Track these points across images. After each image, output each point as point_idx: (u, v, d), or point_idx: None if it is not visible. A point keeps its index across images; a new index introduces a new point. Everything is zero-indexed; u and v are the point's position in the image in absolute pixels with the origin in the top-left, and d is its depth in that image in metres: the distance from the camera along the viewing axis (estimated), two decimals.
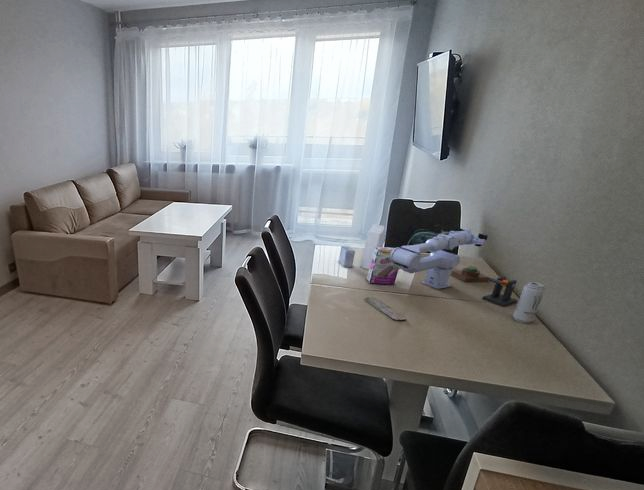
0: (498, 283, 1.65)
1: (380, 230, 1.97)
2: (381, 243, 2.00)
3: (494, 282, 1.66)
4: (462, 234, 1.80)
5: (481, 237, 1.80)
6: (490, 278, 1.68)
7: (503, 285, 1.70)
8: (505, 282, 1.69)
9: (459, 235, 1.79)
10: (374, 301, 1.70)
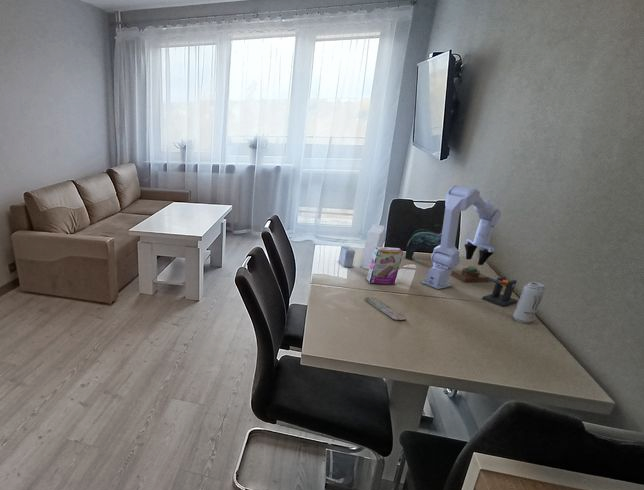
0: (498, 283, 1.65)
1: (380, 230, 1.97)
2: (381, 243, 2.00)
3: (494, 282, 1.66)
4: None
5: None
6: (490, 278, 1.68)
7: (503, 285, 1.70)
8: (505, 282, 1.69)
9: None
10: (374, 301, 1.70)
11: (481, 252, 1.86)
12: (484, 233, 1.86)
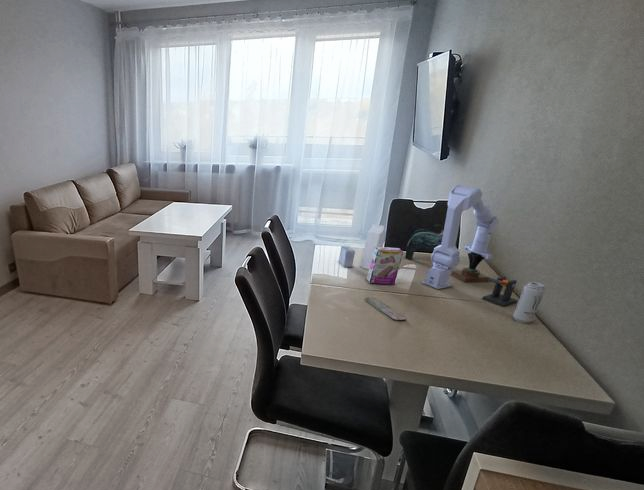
0: (498, 283, 1.65)
1: (380, 230, 1.97)
2: (381, 243, 2.00)
3: (494, 282, 1.66)
4: None
5: None
6: (490, 278, 1.68)
7: (503, 285, 1.70)
8: (505, 282, 1.69)
9: None
10: (374, 301, 1.70)
11: (473, 256, 1.91)
12: (482, 240, 1.87)
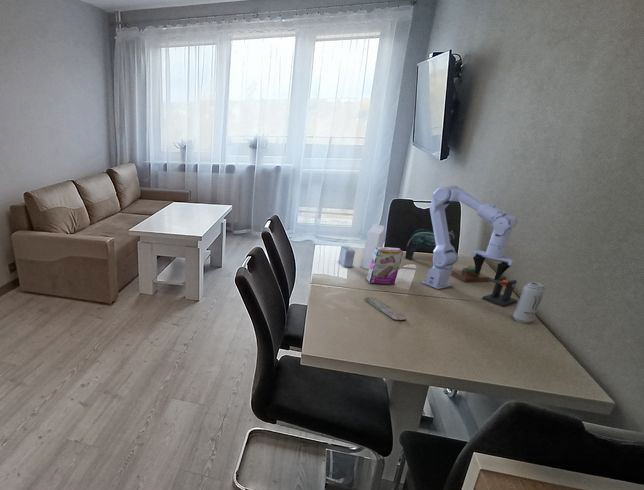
0: (498, 283, 1.65)
1: (380, 230, 1.97)
2: (381, 243, 2.00)
3: (494, 282, 1.66)
4: (503, 245, 1.63)
5: None
6: (490, 278, 1.68)
7: (503, 285, 1.70)
8: (505, 282, 1.69)
9: (505, 239, 1.62)
10: (374, 301, 1.70)
11: (500, 266, 1.63)
12: None
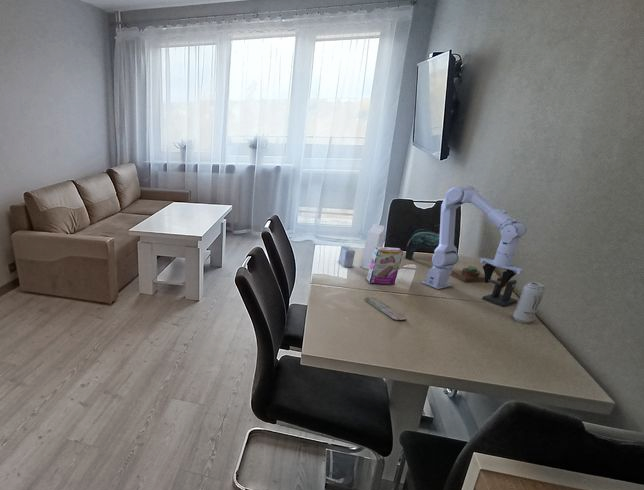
0: (497, 284, 1.65)
1: (380, 230, 1.97)
2: (381, 243, 2.00)
3: (494, 283, 1.66)
4: (511, 254, 1.59)
5: None
6: (489, 279, 1.68)
7: None
8: None
9: (512, 248, 1.58)
10: (374, 301, 1.70)
11: (506, 274, 1.60)
12: None
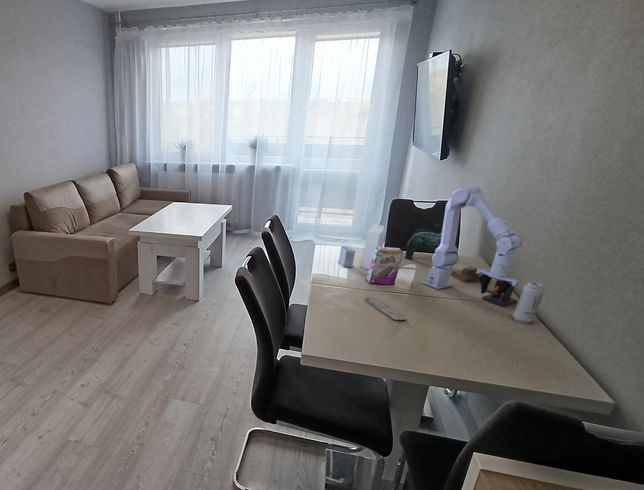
0: None
1: (380, 230, 1.97)
2: (381, 243, 2.00)
3: (490, 293, 1.68)
4: (506, 265, 1.61)
5: None
6: (486, 289, 1.70)
7: None
8: None
9: (508, 259, 1.60)
10: (374, 301, 1.70)
11: (502, 285, 1.62)
12: None
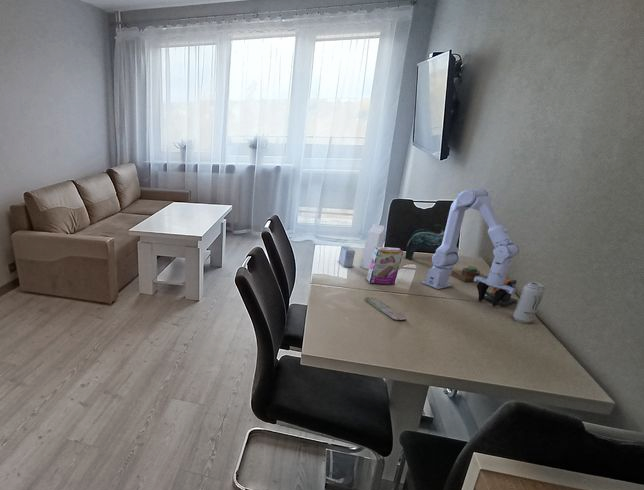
0: (494, 297, 1.68)
1: (380, 230, 1.97)
2: (381, 243, 2.00)
3: None
4: (503, 273, 1.62)
5: None
6: (485, 292, 1.70)
7: None
8: None
9: (505, 268, 1.61)
10: (374, 301, 1.70)
11: (498, 293, 1.63)
12: None
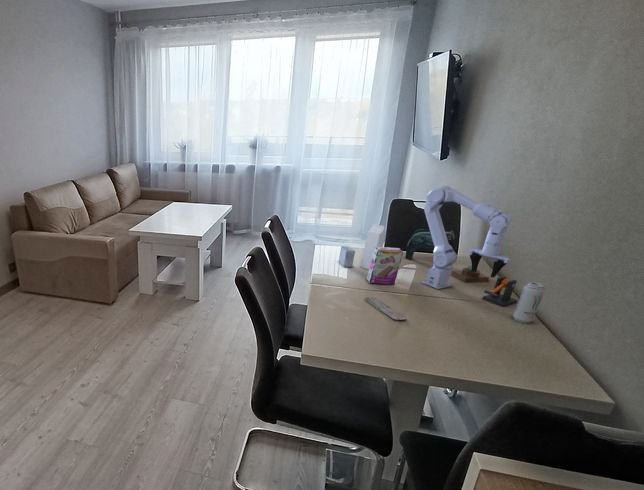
0: None
1: (380, 230, 1.97)
2: (381, 243, 2.00)
3: None
4: (500, 243, 1.65)
5: None
6: (485, 291, 1.70)
7: (503, 286, 1.71)
8: (504, 285, 1.70)
9: (501, 238, 1.64)
10: (374, 301, 1.70)
11: (496, 264, 1.66)
12: (486, 240, 1.69)
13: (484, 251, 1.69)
